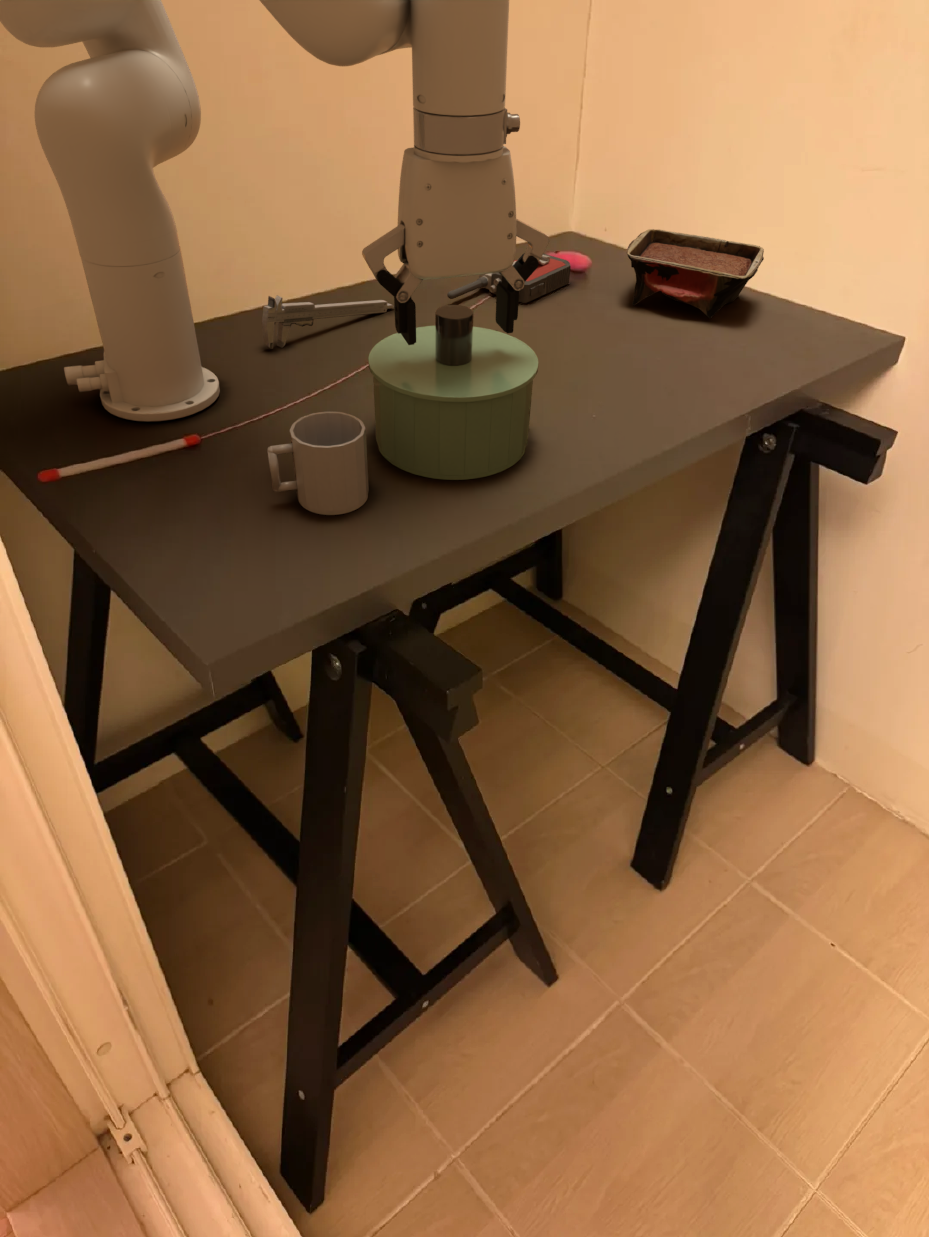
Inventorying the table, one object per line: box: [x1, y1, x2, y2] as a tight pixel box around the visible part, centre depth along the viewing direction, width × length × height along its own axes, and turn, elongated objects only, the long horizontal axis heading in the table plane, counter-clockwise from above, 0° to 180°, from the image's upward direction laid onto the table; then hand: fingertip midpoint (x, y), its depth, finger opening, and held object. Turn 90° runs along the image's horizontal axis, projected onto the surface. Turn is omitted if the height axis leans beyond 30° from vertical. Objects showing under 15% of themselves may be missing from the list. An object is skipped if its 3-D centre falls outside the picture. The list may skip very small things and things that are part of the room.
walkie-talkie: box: [446, 253, 572, 304], centre depth 122 cm, size 9×4×20 cm
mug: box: [266, 411, 370, 516], centre depth 80 cm, size 9×7×7 cm
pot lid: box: [367, 304, 540, 402], centre depth 84 cm, size 17×17×6 cm
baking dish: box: [626, 228, 765, 319], centre depth 121 cm, size 14×18×10 cm
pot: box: [372, 375, 534, 481], centre depth 88 cm, size 16×16×8 cm
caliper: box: [261, 294, 394, 350], centre depth 110 cm, size 20×1×6 cm, turn 136°
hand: (456, 333), depth 83 cm, fingers open, 9 cm apart
